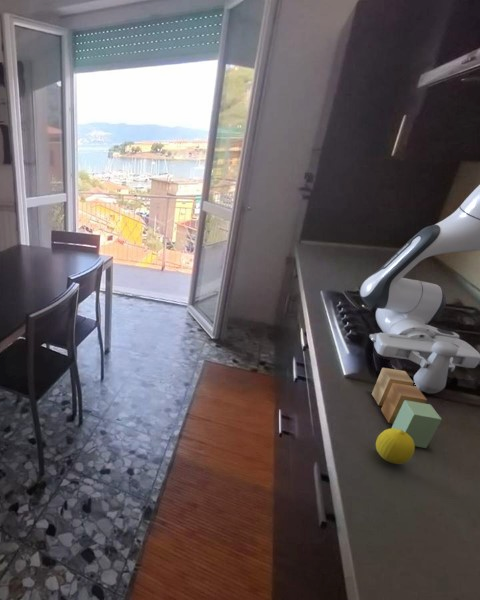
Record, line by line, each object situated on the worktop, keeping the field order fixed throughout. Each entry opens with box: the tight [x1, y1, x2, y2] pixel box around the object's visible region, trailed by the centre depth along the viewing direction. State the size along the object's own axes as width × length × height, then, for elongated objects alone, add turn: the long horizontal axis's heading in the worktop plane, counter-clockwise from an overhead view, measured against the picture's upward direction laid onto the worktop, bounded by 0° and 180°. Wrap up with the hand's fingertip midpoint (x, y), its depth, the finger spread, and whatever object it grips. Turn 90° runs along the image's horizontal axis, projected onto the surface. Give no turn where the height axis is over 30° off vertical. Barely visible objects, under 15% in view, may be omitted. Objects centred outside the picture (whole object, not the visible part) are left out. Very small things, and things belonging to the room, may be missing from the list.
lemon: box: [375, 428, 416, 465], centre depth 70 cm, size 6×6×8 cm
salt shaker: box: [413, 341, 458, 394], centre depth 86 cm, size 6×6×13 cm
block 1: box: [371, 367, 414, 407], centre depth 85 cm, size 4×4×8 cm
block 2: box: [380, 383, 428, 425], centre depth 80 cm, size 4×4×8 cm
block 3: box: [391, 400, 443, 449], centre depth 75 cm, size 4×4×8 cm
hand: (439, 367), depth 85 cm, fingers closed on salt shaker, 3 cm apart
